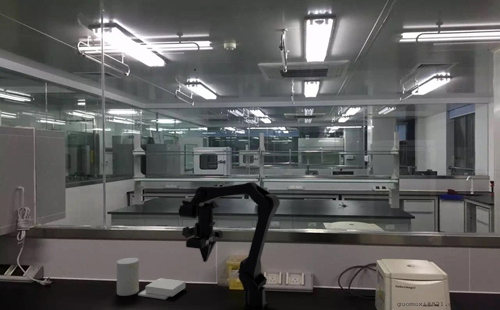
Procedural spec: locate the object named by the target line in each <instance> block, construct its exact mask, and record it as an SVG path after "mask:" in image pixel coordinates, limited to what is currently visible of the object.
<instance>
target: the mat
mask: <svg viewBox="0 0 500 310" xmlns="http://www.w3.org/2000/svg"><path fill="white" fill-rule="evenodd" d="M137 295H138V297H139V296H140V297H146V298H153V299H158V300H159V299H160V300H166V299H168V298H170V296H165V295H158V294H151V293H146V289H144V290H142V291H140V292H138V293H137Z"/></svg>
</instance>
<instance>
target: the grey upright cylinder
mask: <svg viewBox="0 0 500 310" xmlns="http://www.w3.org/2000/svg"><path fill="white" fill-rule="evenodd" d="M139 261H140V260H139V258H137V257H126V258H121V259H118V260H116V295H118V296H123V297H125V296H132V295H135V294H138V293H139V292H140V262H139Z"/></svg>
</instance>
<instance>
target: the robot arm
mask: <svg viewBox="0 0 500 310" xmlns="http://www.w3.org/2000/svg"><path fill="white" fill-rule="evenodd" d="M245 194H247V195H248V196H249V197H250V199H251V200H252V201H253V202H254V204H255V205H257V209H256V213H257V214H256V215H257V222H256V225H255V229H254V233H253V235H252V240H251V245H250V248H249V251H248V255H247V257H245V258H244V259H243V260H241V261H240V263H239V269H238V271H237V272H236V273H237V274H238V280H239V281H240V283H241V285H242V288H243V291H244V292H243V304H244V306H243V308H244V309H248V310H264V308H265V306H266V305H267V303H268V302H267V301H266V287H265V285H266V284H267V282H268V278H267V277H266V276H265V275H264V274H263V272H262V260H261V259H262V258H261V257H262V255H263V251H264V248H265V244H266V240H267V236H268V232H269V229H270V228H269V227H270V224H271V223H272V222H271V221H272V219H274V216H275V215H276V213H277V211H278V208H279V207H280V206H281V205H280V202H281V201H280V199H279V197H278V196H277V195H276V194H274V193H270V192H269V191H268V190H266V189H265V188H263V187H261V186H260V185H259V184H257V183H256V182H254V181H247V182H245V183H238V184H233V185H232V184H231V185H224V186H218V185H203V186H199V187H197V188H196V190H195V194H194V196H193V197H192V199H191V200H188V199H182V202H181V204H180V206H179V209H178V215H179V217H180V218H183V219H197V221H196V222H195V223H194V226H192V227H189V226H184V227H183V228H182V231H181V232H182V233H181V236H183V237H184V239H187V240H185V248H189V249H199V252H200V255H201V259H202V262H205V263H206V262H208V260H209V258H210V255H211V253H212V251H213V249H214V247H215V245H216V243H217V241H216V240H214V238H218V239H223V236H224V235H223V234H224V232H223V231H222V230H221V229H214V226H215V225H216V221H214V209H217V208H219V207H220V206H219V204H217V203H216V202H215V201H214V200H216V199H220V198H221V197H229V196H236V195H245Z"/></svg>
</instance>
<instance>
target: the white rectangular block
mask: <svg viewBox="0 0 500 310" xmlns="http://www.w3.org/2000/svg"><path fill="white" fill-rule="evenodd" d="M185 288H186V280H177V279H170V278H163V277H160V278H159V277H158V279H156V280H154V281H152V282H150V283H149V284H147V285H145V290H146V293H151V294H158V295H165V296H169V297H174V296H175V295H177V294H178V293H180V292H181V291H182V290H184V289H185Z"/></svg>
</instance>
